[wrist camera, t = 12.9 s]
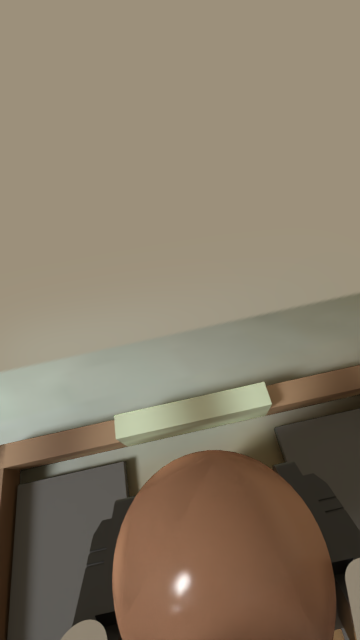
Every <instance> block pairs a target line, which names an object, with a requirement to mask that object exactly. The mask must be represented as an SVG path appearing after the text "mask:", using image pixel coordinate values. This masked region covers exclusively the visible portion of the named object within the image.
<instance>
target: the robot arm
mask: <svg viewBox="0 0 360 640" xmlns="http://www.w3.org/2000/svg"><path fill="white" fill-rule="evenodd" d="M273 471H275V472H276V473H277V474H279V475H280V476H281V477H282V478H283V479H284V480H285V481H287V482H288V483H289V484H290V485H291V486H292V487H293V489H294V490H295V491H296V492H297V493H298V494H299V496H300V497H301V498H302V499H303V501H304V502H305V504H306V505H307V507H308V508H309V510H310V511H311V513H312V515H313V517H314V518H315V520H316V522H317V524H318V526H319V528H320V530H321V533H322V535H323V538H324V540H325V543H326V546H327V549H328V552H329V556H330V559H331V563H332V568H333V574H334V579H335V590H336V621H335V628H334V630H336V629H341V628H344V629H345V631H346V633H347V636H348V638H349V640H360V530H359V529H358V527H357V526H356V524H355V523H354V522H353V520H352V519H351V517H350V516H349V514H348V513H347V511H346V510H344V507H343V506H342V504H341V503H340V501H339V500H338V499H337V498H336V495H335V494H334V493H333V491H332V490H331V488H330V487H329V485H328V484H327V483H326V482H325V481H323V480H322V479H321V478H319V477H318V476H317V475H315V474H314V473H312V474H308V475H302V473H301V472H300V470H299V468H298V467H297V465H296V463H295V462H294V461H290V462H286V463H281V464H277V465H273ZM135 497H136V496H132V497H128V498H124V499H119V500H116V501H115V503H114V509H113V514H112V518H110V519H106V520H102V521H101V523H100V525H99V526H98V528H97V530H96V531H95V533H94V535H93V538H92V543H91V547H90V554H89V556H88V560H87V564H86V565H87V568H85V573H84V577H83V581H82V586H81V590H80V594H79V599H78V603H77V607H76V612H75V616H74V620H73V624H72V627H71V628H70V629H69V630H68V631H67V632H66V633H65V634H64V636H63V637H62V638H61V640H122V637H121V634H120V631H119V628H118V624H117V619H116V614H115V609H114V600H113V588H112V572H113V561H114V553H115V548H116V543H117V538H118V535H119V532H120V528H121V525H122V523H123V520H124V518H125V515H126V513H127V511H128V509H129V507H130V505H131V503H132V502H133V500H134V498H135Z"/></svg>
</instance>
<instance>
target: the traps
mask: <svg viewBox="0 0 360 640" xmlns="http://www.w3.org/2000/svg"><path fill="white" fill-rule="evenodd" d="M274 430H275V433H276V436H277V439H278V442H279V445H280V448H281V451H282V454H283V457H284V460H285V463H286V462H290V461H294V462H295V463H296V465H297V467H298V468H299V470H300V472H301V473H302V475H308V474H312V473H314V474H315V475H317V476H318V477H319V478H321V479H322V480H323V481H325V482H326V483H327V484H328V485H329V487H330V488H331V490H332V491H333V493H334V494H335V495H336V498H337V499H338V500H339V501H340V503H341V504H342V506H343V507H344V510H346V511H347V513H348V514H349V516H350V517H351V519H352V520H353V522H354V523H355V524H356V526H357V527H358V529H359V530H360V409H355V410H351V411H346V412H342V413H337V414H333V415H328V416H324V417H319V418H315V419H311V420H306V421H302V422H297V423H293V424H288V425H284V426H279V427H275V429H274ZM128 497H129V492H128V481H127V470H126V462H119V463H115V464H110V465H106V466H101V467H97V468H92V469H88V470H83V471H79V472H74V473H70V474H66V475H61V476H57V477H52V478H48V479H43V480H39V481H34V482H30V483H25V484H21V485H18V490H17V505H16V520H15V534H14V549H13V564H12V578H11V593H10V608H9V623H8V637H7V640H61V638H62V637H63V636H64V634H65V633H66V632H67V631H68V630H69V629H70V628H71V627H72V624H73V620H74V616H75V612H76V607H77V603H78V599H79V594H80V590H81V586H82V581H83V577H84V573H85V568H87V565H86V564H87V560H88V556H89V554H90V547H91V543H92V538H93V535H94V533H95V531H96V530H97V528H98V526H99V525H100V523H101V521H102V520H106V519H110V518H112V514H113V509H114V503H115V501H116V500H119V499H124V498H128ZM341 629H342V632H343V635H344V638H345V640H349V638H348V636H347V633H346V631H345V629H344V628H341Z"/></svg>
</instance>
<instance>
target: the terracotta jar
mask: <svg viewBox="0 0 360 640" xmlns="http://www.w3.org/2000/svg"><path fill="white" fill-rule="evenodd" d="M112 588H113V600H114V609H115V614H116V619H117V624H118V628H119V631H120V634H121V637H122V640H333V636H334V628H335V621H336V590H335V579H334V574H333V568H332V563H331V559H330V556H329V552H328V549H327V546H326V543H325V540H324V538H323V535H322V533H321V530H320V528H319V526H318V524H317V522H316V520H315V518H314V517H313V515H312V513H311V511H310V510H309V508H308V507H307V505H306V504H305V502H304V501H303V499H302V498H301V497H300V496H299V494H298V493H297V492H296V491H295V490H294V489H293V487H292V486H291V485H290V484H289V483H288V482H287V481H285V480H284V479H283V478H282V477H281V476H280V475H279V474H277V473H276V472H275V471H273V470H272V469H271V468H269V467H268V466H266V465H264V464H263V463H261V462H259V461H257V460H255V459H253V458H250V457H248V456H245V455H242V454H238V453H235V452H230V451H222V450H207V451H201V452H195V453H192V454H188V455H185V456H183V457H180V458H178V459H176V460H174V461H172V462H170V463H169V464H167V465H166V466H164V467H163V468H161V469H160V470H159V471H158V472H157V473H155V474H154V475H153V476H152V477H151V478H150V479H149V480H148V481H147V482H146V483H145V485H144V486H143V487H142V488H141V490H140V491H139V492H138V494H137V495H136V497H135V498H134V500H133V502H132V503H131V505H130V507H129V509H128V511H127V513H126V515H125V518H124V520H123V523H122V525H121V528H120V532H119V535H118V538H117V543H116V548H115V553H114V561H113V572H112Z"/></svg>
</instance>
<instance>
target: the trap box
mask: <svg viewBox="0 0 360 640" xmlns="http://www.w3.org/2000/svg"><path fill="white" fill-rule="evenodd" d="M356 395H360V365H357V366H352V367H348V368H343V369H339V370H334V371H330V372H326V373H321V374H317V375H312V376H308V377H303V378H299V379H294V380H290V381H285V382H281V383H276V384H272V385H267V386H266V385H265V383H264V382H261V383H256V384H252V385H247V386H243V387H239V388H234V389H230V390H225V391H221V392H216V393H212V394H207V395H203V396H198V397H194V398H189V399H185V400H180V401H176V402H171V403H167V404H162V405H158V406H154V407H149V408H145V409H140V410H136V411H131V412H127V413H122V414H118V415H114V420H111V421H106V422H102V423H97V424H93V425H88V426H84V427H80V428H75V429H71V430H66V431H62V432H57V433H53V434H48V435H44V436H39V437H35V438H30V439H26V440H21V441H17V442H12V443H8V444H3V445H0V640H7V637H8V623H9V608H10V593H11V578H12V564H13V549H14V534H15V520H16V505H17V490H18V485H19V483H20V471H21V470H25V469H30V468H34V467H39V466H43V465H48V464H52V463H57V462H61V461H66V460H70V459H75V458H79V457H83V456H88V455H92V454H97V453H101V452H106V451H110V450H115V449H119V448H124V447H128V446H133V445H137V444H141V443H146V442H150V441H155V440H159V439H164V438H168V437H173V436H177V435H182V434H186V433H191V432H195V431H199V430H204V429H208V428H213V427H217V426H222V425H226V424H231V423H235V422H240V421H244V420H249V419H253V418H257V417H262V416H266V415H271V414H275V413H280V412H284V411H289V410H293V409H298V408H302V407H307V406H311V405H315V404H320V403H324V402H329V401H333V400H338V399H342V398H347V397H351V396H356Z"/></svg>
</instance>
